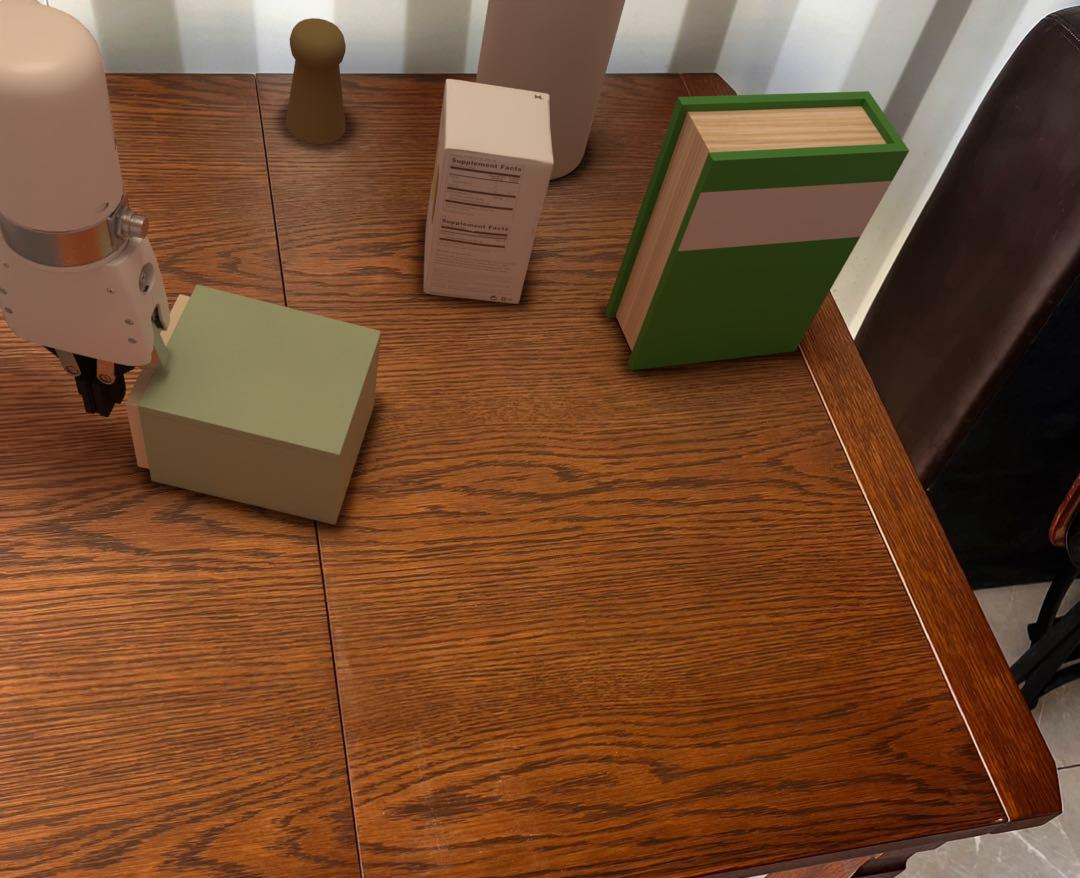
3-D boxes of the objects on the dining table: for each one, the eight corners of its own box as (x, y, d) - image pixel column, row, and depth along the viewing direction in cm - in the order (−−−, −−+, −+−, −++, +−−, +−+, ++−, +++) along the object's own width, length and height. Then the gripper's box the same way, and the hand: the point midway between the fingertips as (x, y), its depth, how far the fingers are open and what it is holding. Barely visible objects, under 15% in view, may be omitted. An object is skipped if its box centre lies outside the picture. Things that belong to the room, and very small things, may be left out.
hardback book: (630, 372, 101) (713, 160, 81) (604, 313, 104) (678, 96, 84) (794, 353, 106) (909, 150, 87) (764, 298, 110) (868, 91, 90)
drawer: (122, 462, 84) (108, 398, 78) (172, 357, 91) (163, 289, 84) (308, 507, 85) (310, 448, 79) (345, 400, 92) (350, 336, 85)
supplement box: (424, 226, 106) (444, 73, 92) (517, 237, 108) (550, 89, 94) (422, 297, 101) (443, 147, 87) (520, 308, 102) (556, 162, 89)
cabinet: (151, 483, 85) (137, 405, 77) (204, 366, 92) (196, 283, 84) (335, 527, 86) (339, 454, 78) (373, 408, 93) (381, 330, 85)
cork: (321, 155, 109) (324, 56, 99) (273, 126, 109) (271, 26, 100) (358, 127, 112) (363, 29, 103) (310, 100, 113) (312, 0, 104)
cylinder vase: (481, 185, 111) (524, -56, 90) (456, 106, 117) (491, -137, 96) (596, 184, 114) (663, -49, 94) (566, 107, 120) (622, -127, 100)
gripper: (202, 205, 70) (218, 388, 85) (-32, 145, 69) (26, 342, 84) (161, 284, 66) (186, 463, 81) (-88, 222, 65) (-16, 414, 80)
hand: (104, 401), depth 82 cm, fingers closed
